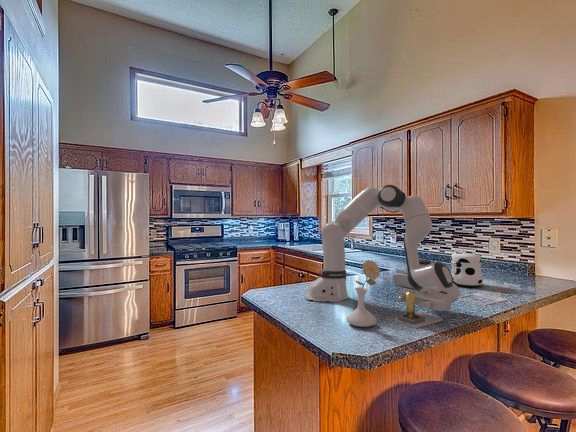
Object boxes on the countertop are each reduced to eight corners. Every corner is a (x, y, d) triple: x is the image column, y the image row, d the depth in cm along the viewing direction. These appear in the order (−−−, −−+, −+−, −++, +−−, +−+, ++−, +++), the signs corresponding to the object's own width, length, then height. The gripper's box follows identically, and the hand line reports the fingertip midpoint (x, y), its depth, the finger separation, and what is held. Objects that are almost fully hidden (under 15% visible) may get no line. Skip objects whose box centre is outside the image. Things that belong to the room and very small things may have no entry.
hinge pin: (406, 321, 120) (406, 293, 120) (406, 318, 123) (405, 291, 123) (415, 322, 119) (415, 293, 119) (414, 319, 122) (414, 291, 122)
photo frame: (507, 299, 151) (484, 304, 143) (507, 301, 151) (484, 306, 143) (477, 292, 164) (455, 296, 156) (477, 294, 164) (455, 298, 156)
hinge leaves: (416, 328, 115) (415, 322, 115) (394, 320, 123) (394, 314, 123) (442, 320, 123) (442, 314, 123) (420, 313, 132) (420, 308, 132)
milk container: (487, 285, 183) (487, 255, 183) (476, 290, 172) (476, 257, 172) (456, 280, 196) (456, 252, 196) (444, 285, 185) (444, 255, 185)
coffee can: (431, 285, 184) (431, 261, 184) (412, 284, 188) (412, 260, 188) (430, 281, 194) (430, 259, 194) (412, 280, 198) (412, 258, 198)
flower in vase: (350, 330, 113) (350, 262, 113) (343, 319, 125) (343, 258, 125) (385, 329, 114) (384, 261, 114) (375, 318, 125) (374, 257, 125)
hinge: (423, 288, 176) (420, 273, 174) (419, 292, 173) (415, 276, 172) (399, 283, 190) (395, 268, 188) (394, 287, 188) (390, 272, 186)
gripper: (409, 285, 137) (387, 289, 129) (454, 294, 119) (433, 300, 112) (409, 299, 137) (387, 304, 129) (454, 311, 119) (433, 317, 112)
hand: (409, 302), depth 120 cm, fingers open, 8 cm apart
